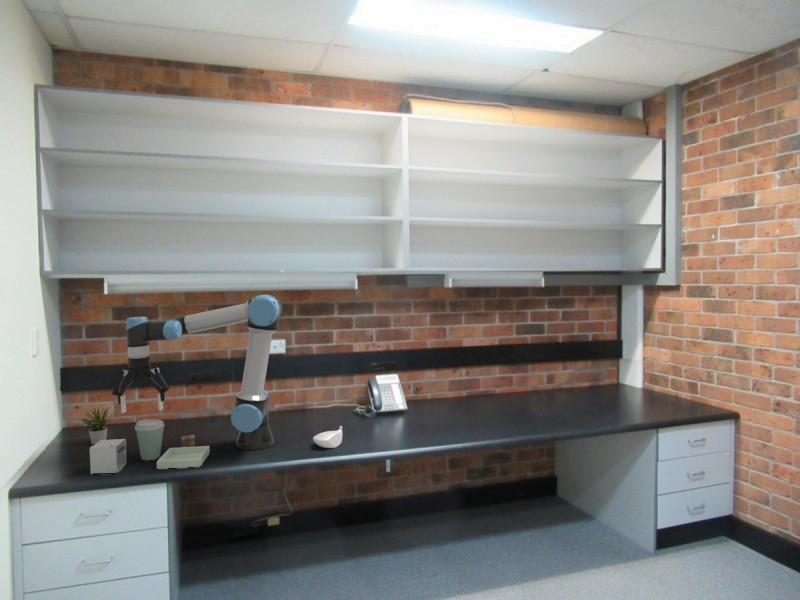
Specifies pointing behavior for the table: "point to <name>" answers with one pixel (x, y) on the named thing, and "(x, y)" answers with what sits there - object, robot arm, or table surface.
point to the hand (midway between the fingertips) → (142, 410)
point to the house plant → (97, 425)
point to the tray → (183, 457)
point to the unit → (108, 456)
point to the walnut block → (188, 441)
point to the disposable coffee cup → (149, 438)
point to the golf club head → (329, 438)
